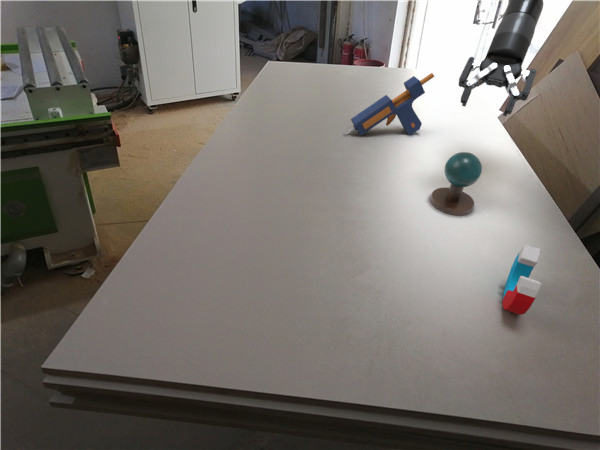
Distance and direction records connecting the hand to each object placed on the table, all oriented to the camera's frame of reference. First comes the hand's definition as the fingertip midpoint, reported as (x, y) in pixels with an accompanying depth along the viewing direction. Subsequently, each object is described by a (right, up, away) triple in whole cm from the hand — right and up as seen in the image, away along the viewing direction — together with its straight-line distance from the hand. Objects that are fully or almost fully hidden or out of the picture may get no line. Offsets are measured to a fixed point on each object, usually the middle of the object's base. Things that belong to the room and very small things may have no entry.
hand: (484, 109), depth 86 cm
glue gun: (-13, +4, +43) cm, 45 cm away
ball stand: (-2, -19, +13) cm, 23 cm away
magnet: (-1, -39, -12) cm, 41 cm away
